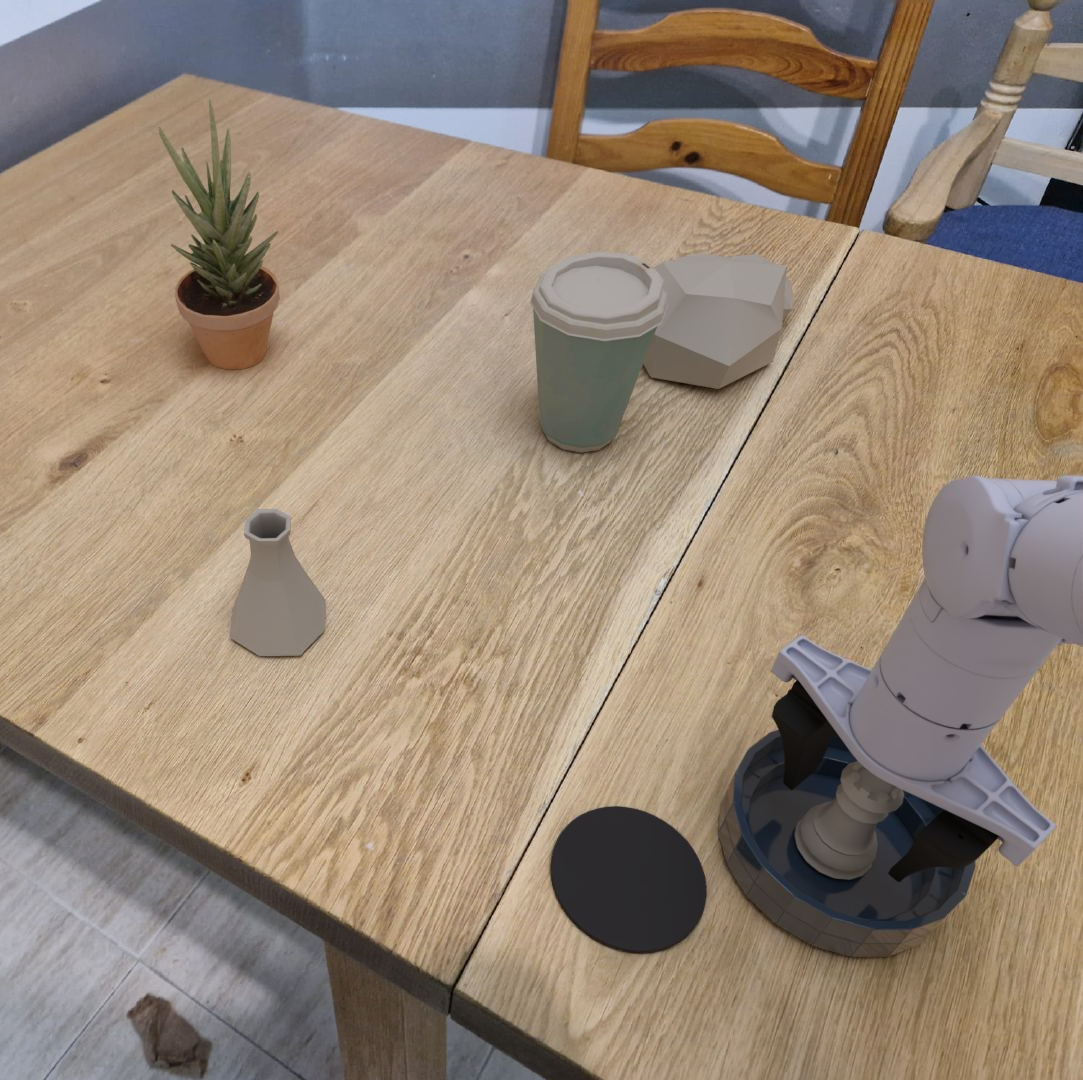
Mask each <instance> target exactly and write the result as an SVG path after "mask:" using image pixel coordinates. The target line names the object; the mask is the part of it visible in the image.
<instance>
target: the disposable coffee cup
mask: <svg viewBox="0 0 1083 1080" xmlns="http://www.w3.org/2000/svg"><path fill="white" fill-rule="evenodd" d="M654 267H655V266H653V265H651V264H650V263H648V262H647V261H645V260H643V259H640V258H638V257H637V256H634V255H631V254H630V253H627V252H613V251H599V250H596V251H591V252H586V253H581V254H576V255H571V256H568V257H567V256H566V258H564V259H562V260H561V261H558V262H557V263H556V264H554V265H552V266H551V267H549V268H547V269H546V270H545V271H544V273H542V274H541V275H540V276H539V278H538V280H537V282H536V284H535V286H534V289H533V291H532V294H531V298H530V301H529V304H530V305H531V307H532V313H533V315H532V316H533V328H534V329H533V331H534V332H533V333H534V348H535V349H534V350H535V363H536V364H535V367H536V379H537V380H536V382H537V383H536V384H537V397H538V398H537V399H538V417H539V424H540V426H541V427H542V431H543V433H544V435H545V437H546V439H547V441H548V442H550V443H551V444H553V445H555V446H556V447H558V448H560V449H561V450H565V451H570V452H576V453H581V454H582V453H589V452H594V451H600V450H602V449H603V448H605V447H606V446H607V445H609V444H610V443H612V441H613V439H615V437H616V436H617V434H618V431H619V429H620V426H621V423H622V420H623V418H624V415H625V412H626V410H627V407H628V404H629V402H630V399H631V396H632V394H633V391H634V388H635V387H636V383H637V382H638V378H639V376H640V373H641V371H642V368H643V367H644V365H643V363H644V360H645V358H646V355H647V352H648V350H649V347H650V345H651V342H652V339H653V337H654V334H655V331H656V329H657V326H659V325H660V324H662V323H663V319H664V316H665V312H666V308H667V304H666V302H667V294H666V293H665V291H664V290H663V289H662V288H663V283H664V280H663V279H662V277H661V276H660V275H659V273H658V272H657V271H656V270H655V268H654Z"/></svg>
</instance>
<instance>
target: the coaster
mask: <svg viewBox="0 0 1083 1080" xmlns="http://www.w3.org/2000/svg"><path fill="white" fill-rule="evenodd" d="M550 879H551V885H552V889H553V891H554V895H555V896H556V900H557V901H558V903H559V906H560V907H561V909H562V910H563V911H564V913H565V914H566V917H568V918H569V920H570V921H571V922H572V923H573V924H574V925H575V926H576V927H577V928H578V929H579V930H580V931H581V932H582V933H584V934H585V935H586V936H588V937H589V938H591V939H592V940H593V941H595V942H598V943H599V944H601V945H603V946H605V947H607V948H611V949H613V950H616V951H619V952H625V953H630V954H652V953H658V952H662V951H666V950H668V949H670V948H672V947H675V946H677V945H678V944H679V943H681V942H683V941H684V940H685V939H687V937H688V936H690V934H691V933H692V932H693V931H694V930H695V928H696V927H697V925H698V924H699V922H700V920H701V918H702V916H703V914H704V910H705V906H706V903H707V880H706V876H705V871H704V868H703V866H702V863H701V861H700V858H699V856H698V854H697V853H696V851H695V849H694V848H693V846H692V845H691V844H690V843H689V841H688V839H686V838H685V837H684V836H683V835H682V833H680V831H678V830H677V829H676V828H675V827H674V826H673V825H671V824H669V823H668V822H667V821H665V820H663V819H662V818H660V817H658V816H656V815H654V814H652V813H649V812H648V811H644V810H642V809H638V808H633V807H629V806H618V805H617V806H616V805H615V806H603V807H597V808H594V809H591V810H588V811H586V812H584V813H581V814H580V815H578V816H576V817H575V818H574V819H572V820H571V821H570V822H569V823H568V824H566V826H565V827H564V828H563V829H562V830H561V832H560V834H559V836H558V837H557V839H556V841H555V843H554V846H553V849H552V853H551V857H550Z"/></svg>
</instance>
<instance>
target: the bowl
mask: <svg viewBox="0 0 1083 1080" xmlns="http://www.w3.org/2000/svg"><path fill="white" fill-rule="evenodd" d="M853 762H857V759H856V758H855V757H854V756H853V754H852V753H851V752H850V750H849V749H848V748H847V746H846V745H845V744H844V742H843V741H842V739H841V738H840V737H839V735H838V734H837V732H836V733H835V735H834V736H833V738H832V740H831V742H830V744H829V747H828V749H827V751H826V753H825V755H824V757H823V759H822V761H821V763H820V764H819V765H818V767H817V768H816V770H815V771H814V772H813V773H812V774H811V775H810V776H809V777H808V778H806V779H805V780H804V781H803V782H802V783H800V784H799V785H798V786H797V787H796V788H794V789H793V790H790V789H789V788H788V787H787V786H786V785H785V784H783V779H784V747H783V742H782V738H781V735H780V732H779V730H778V729H775V730H773V731H770V732H768V733H767V734H765V735H764V736H763V737H762V738H761V739H759V740H758V741H756V742H755V743H754V744H752V745H751V746H750V747H749V748H748V749H747V750H746V752H745V754H744V756H743V758H742V759H741V761H740V763H739V765H738V767H737V768H736V770H735V772H734V774H733V776H732V778H731V781H730V783H729V785H728V787H727V790H726V791H725V794H724V795H723V798H722V800H721V802H720V809H719V820H718V836H719V840H720V843H721V848H722V851H723V855H724V858H725V863H726V864H727V865H726V866H727V867H728V869H729V871H730V872H731V874H732V875H733V877H734V878H735V880H736V882H737V884H738V885H739V887H740V889H741V890H742V891H743V894H744V895H745V896H746V897H747V898H748V900H750V901H751V902H752V903H753V904H754V906H756V907H757V908H758V909H759V910H760V911H761V912H762V913H763V914H764V915H765V916H766V917H767V918H769V920H770V921H771V922H773V924H776V926H777V927H779V928H781V929H782V930H785V931H787V932H788V933H790V934H792V935H793V936H794V937H796V938H798V939H800V940H802V941H803V942H804V943H806V944H809V945H811V946H813V947H816V948H819V949H823V950H826V951H828V952H829V951H830V952H833V953H836V954H840V955H843V956H847V957H851V958H860V957H861V958H871V957H872V958H879V957H880V958H881V957H882V958H885V957H886V958H887V957H891V956H894V955H896V954H899V953H901V952H904V951H908V950H910V949H913V948H915V947H918V946H920V945H921V944H923V942H925V940H926V939H927V938H928V937H929V936H930V935H931V934H932V933H933V932H934V931H935V930H936V929H937V928H938V927H939V926H940V925H941V924H942V923H943V922H944V921H945V920H946V918H948V917H949V916H950V914H951V913H952V912H954V910H956V908H957V907H958V906H959V905H960V904H961V902H963V901H964V899H966V897H967V895H968V892H969V889H970V886H971V884H972V879H973V877H974V873H975V871H976V865H977V864H976V861H974V862H973V863H971V864H969V865H967V866H965V867H962V868H959V869H956V868H951V867H936V868H929V869H925V870H922V871H918V872H916V873H913V874H911V875H909V876H907V877H905V878H904V879H903V880H902V881H901V882H897V881H896V880H895V879H894V878H892V877H891V876H890V875H889V874H888V872H889V871H890V869H891V868H892V867H893V866H894V865H895V864H896V863H897V862H898V861H899V860H900V859H901V858H902V857H904V856H905V855H906V854H907V853H908V851H909V850H910V848H911V847H912V845H913V844H914V842H915V840H916V838H917V836H918V834H919V833H920V832H921V830H922V829H924V828H925V827H926V826H927V825H928V824H929V823H930V822H931V821H932V820H933V819H934V818H935V817H937V816H938V815H939V814H940V813H941V812H942V811H943V810H944V809H942V808H940V807H938V806H936V805H934V804H932V803H930V802H928V801H925V800H923V799H921V798H919V797H917V796H915V795H913V794H911V793H908V792H906V791H904V790H903V793H904V797H903V803H902V805H901V806H900V807H899V808H898V809H897V810H896V811H893V812H889V813H888V816H887V817H886V818H885V819H884V820H883V821H881V822H878V823H877V826H876V829H875V832H876V838H877V841H878V847H877V852H876V858H875V860H874V861H873V862H872V865H871V867H870V868H869V869H868V871H867V872H866V873H865V874H864V875H863V876H860V877H857V878H854V879H851V880H848V879H837V878H833V877H830V876H828V875H826V874H823V873H821V872H819V871H818V870H816V869H815V868H814V867H813V866H811V865H810V864H809V863H808V862H807V861H806V860H805V859H804V857H803V856H802V854H801V853H800V851H799V850H798V848H797V844H796V839H795V835H794V834H795V830H796V826H797V823H798V822H799V821H800V820H801V819H802V818H803V815H804V814H805V813H806V812H807V811H808V810H809V809H810V808H812V807H814V806H816V805H819V804H823V803H828V802H831V801H833V800H834V799H835V798H836V792H837V787H838V786H839V785H840V784H841V780H840V779H841V774H842V770H843V769H844V768H845V767H846V766H847V765H848V764H850V763H853Z"/></svg>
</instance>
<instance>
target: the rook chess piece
mask: <svg viewBox="0 0 1083 1080" xmlns="http://www.w3.org/2000/svg"><path fill="white" fill-rule="evenodd" d="M840 780H841V784H840V785H839V786H838V787H837V792H836V798H835V799H834V800H833V801H831V802H828V803H823V804H819V805H816V806H814V807H812V808H810V809H809V810H808V811H807V812H806V813H805V814H804V815H803V818H802V819H801V820H800V821H799V822H798V823H797V826H796V830H795V834H794V835H795V839H796V844H797V848H798V850H799V851H800V853H801V854H802V856H803V857H804V859H805V860H806V861H807V862H808V863H809V864H810V865H811V866H813V867H814V868H815V869H816V870H818V871H819V872H821V873H823V874H826V875H828V876H830V877H833V878H837V879H848V880H851V879H854V878H857V877H860V876H863V875H864V874H865V873H866V872H867V871H868V869H869V868H870V867H871V865H872V862H873V861H874V860H875V858H876V852H877V847H878V841H877V838H876V832H875V829H876V826H877V823H878V822H881V821H883V820H884V819H885V818H886V817H887V816H888V813H889V812H893V811H896V810H897V809H898V808H899V807H900V806H901V805H902V803H903V797H904V793H903V790H902V789H900V788H898V787H896V786H894V785H892V784H889V783H887V782H885V781H884V780H882V779H880V778H878V777H877V776H875V775H874V774H872V773H871V772H870V771H868V770H867V769H866V768H865V767H863V766H862V765H861V764H860V763H859V762H858V761H857V762H853V763H850V764H848V765H847V766H846V767H845V768H844V769H843V770H842V774H841V779H840Z"/></svg>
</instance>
